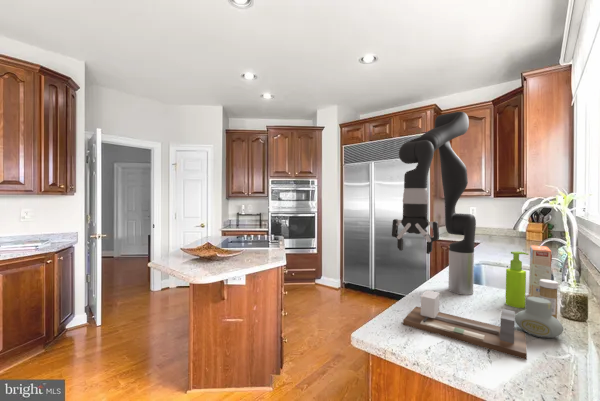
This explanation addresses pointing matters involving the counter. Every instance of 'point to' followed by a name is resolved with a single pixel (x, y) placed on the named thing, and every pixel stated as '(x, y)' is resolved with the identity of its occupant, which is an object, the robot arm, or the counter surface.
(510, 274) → the soap dispenser
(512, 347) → the base
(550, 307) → the air freshener
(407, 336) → the counter surface
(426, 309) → the block
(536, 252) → the cracker box
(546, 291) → the sprinkles bottle
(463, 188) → the robot arm
